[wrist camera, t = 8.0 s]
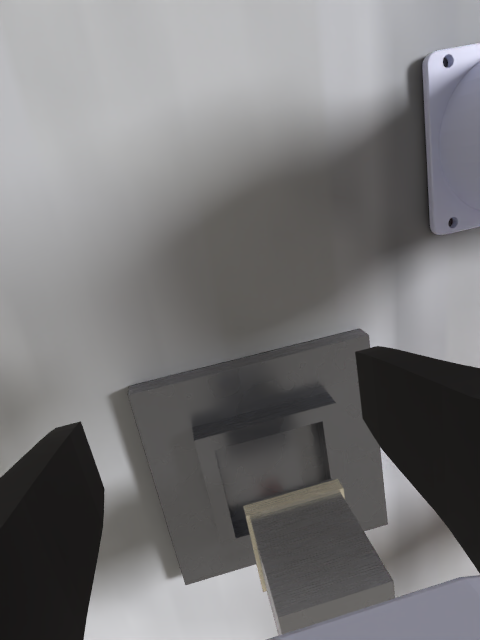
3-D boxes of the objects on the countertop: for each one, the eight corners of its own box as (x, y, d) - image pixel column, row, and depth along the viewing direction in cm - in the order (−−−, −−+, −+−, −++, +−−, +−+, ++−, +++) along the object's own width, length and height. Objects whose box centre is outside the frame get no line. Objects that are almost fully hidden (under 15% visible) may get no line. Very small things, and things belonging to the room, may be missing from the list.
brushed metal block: (335, 474, 19) (397, 576, 14) (345, 548, 20) (405, 664, 15) (241, 500, 18) (272, 615, 14) (258, 574, 20) (292, 703, 15)
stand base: (360, 328, 23) (402, 359, 19) (379, 512, 27) (418, 569, 23) (129, 386, 22) (122, 431, 18) (184, 570, 26) (189, 641, 22)
